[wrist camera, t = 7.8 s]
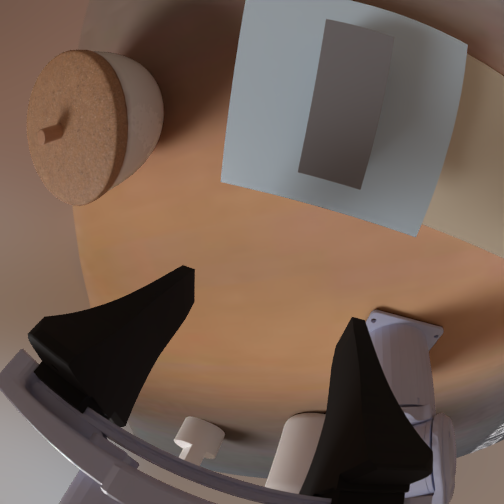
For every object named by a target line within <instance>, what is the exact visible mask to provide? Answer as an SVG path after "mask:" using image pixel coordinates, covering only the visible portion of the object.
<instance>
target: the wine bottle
mask: <svg viewBox="0 0 504 504" xmlns="http://www.w3.org/2000/svg"><path fill="white" fill-rule="evenodd" d="M325 416H326V414H321V413H302V414H297V415H294V416H292V417H290V418H289V419H288V420H287V422H286V423H285V425H284V429H283V432H282V435H281V439H280V442H279V445H278V448H277V451H276V455H275V458H274V461H273V464H272V467H271V470H270V473H269V476H268V479H267V481H266V484H265V487H267V488H271V489H276V490H280V491H285V492H290V493H295V494H299V492H300V490H301V487H302V485H303V483H304V481H305V478H306V476H307V473H308V471H309V468H310V465H311V463H312V460H313V457H314V454H315V451H316V448H317V445H318V442H319V438H320V435H321V431H322V428H323V424H324V420H325Z"/></svg>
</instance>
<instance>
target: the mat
mask: <svg viewBox="0 0 504 504" xmlns="http://www.w3.org/2000/svg"><path fill="white" fill-rule="evenodd" d="M422 225H425V226H428V227H430V228H433V229H436V230H438V231H441V232H443V233H446V234H448V235H451V236H453V237H456V238H458V239H461V240H463V241H465V242H468V243H470V244H472V245H475V246H477V247H479V248H482V249H484V250H486V251H488V252H491V253H493V254H495V255H497V256H499V257H501V258H504V76H503V75H501V74H500V73H498V72H497V71H495V70H493V69H492V68H490V67H489V66H487V65H486V64H484V63H482V62H481V61H479V60H477V59H476V58H474V57H472V56H470V55H468V54H467V57H466V65H465V73H464V79H463V85H462V91H461V96H460V102H459V106H458V111H457V116H456V120H455V124H454V128H453V132H452V136H451V140H450V143H449V147H448V151H447V154H446V157H445V161H444V164H443V167H442V170H441V173H440V176H439V179H438V182H437V185H436V188H435V191H434V193H433V196H432V199H431V202H430V204H429V207H428V209H427V212H426V214H425V217H424V219H423V222H422Z"/></svg>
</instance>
